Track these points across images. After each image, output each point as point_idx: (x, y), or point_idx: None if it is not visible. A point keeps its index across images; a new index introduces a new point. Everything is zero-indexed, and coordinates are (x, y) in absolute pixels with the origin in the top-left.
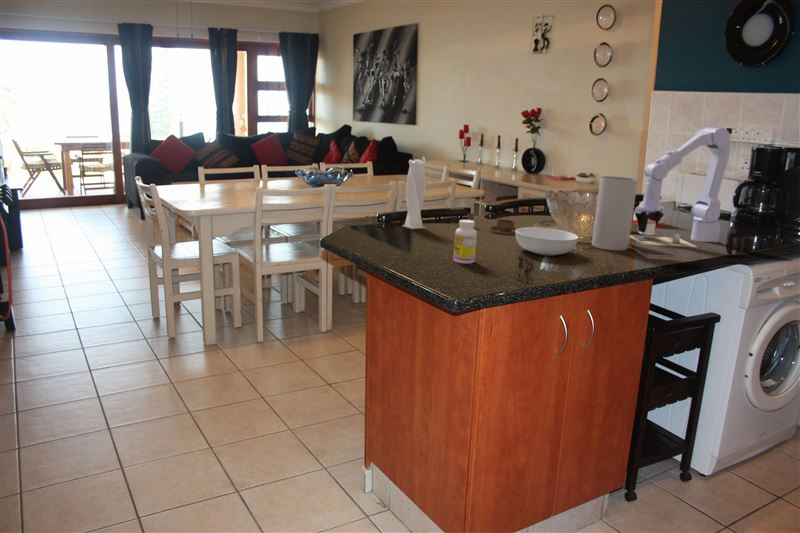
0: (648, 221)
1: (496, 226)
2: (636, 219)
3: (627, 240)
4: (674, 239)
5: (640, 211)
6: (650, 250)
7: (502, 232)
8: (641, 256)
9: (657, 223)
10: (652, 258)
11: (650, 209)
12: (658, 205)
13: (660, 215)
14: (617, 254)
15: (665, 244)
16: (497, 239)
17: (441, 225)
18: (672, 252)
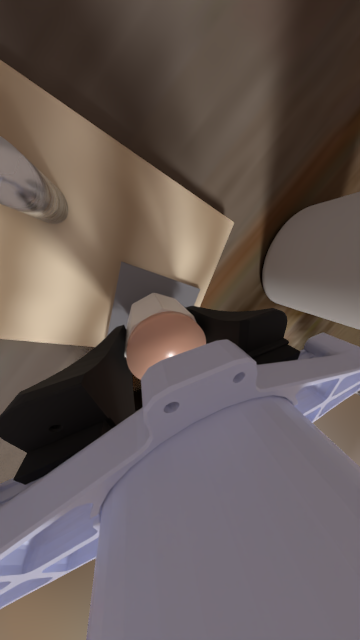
0: (189, 331)
1: None
2: None
3: (336, 199)
4: (53, 187)
5: (335, 344)
6: (225, 186)
7: None
8: (332, 103)
9: (100, 344)
10: (337, 32)
11: (293, 371)
12: (174, 575)
13: (80, 373)
14: (349, 174)
15: (139, 190)
16: (356, 332)
17: None
18: (158, 93)
